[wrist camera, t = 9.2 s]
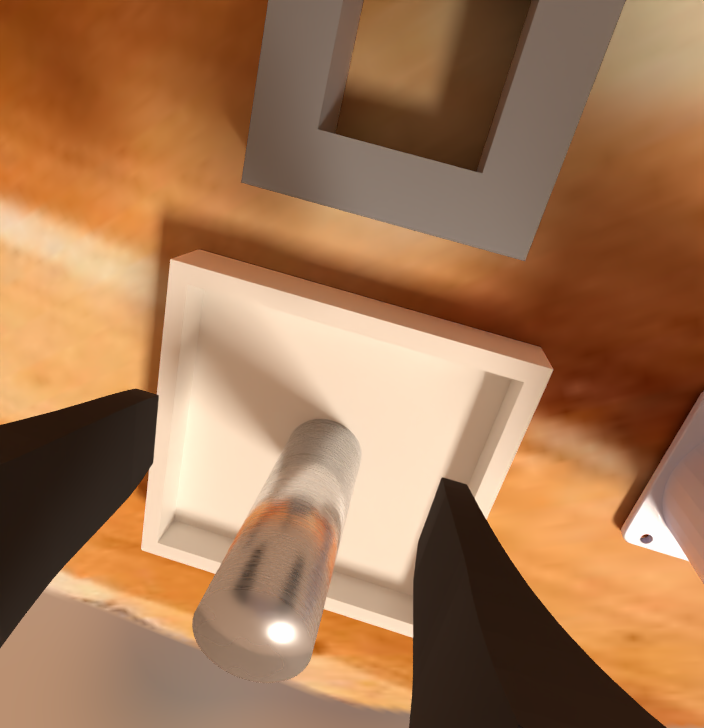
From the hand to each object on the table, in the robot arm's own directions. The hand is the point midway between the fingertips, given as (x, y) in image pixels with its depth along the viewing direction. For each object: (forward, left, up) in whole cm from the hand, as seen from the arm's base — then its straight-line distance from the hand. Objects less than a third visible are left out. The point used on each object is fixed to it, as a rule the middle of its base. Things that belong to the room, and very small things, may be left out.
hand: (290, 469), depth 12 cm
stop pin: (0, +6, -10) cm, 11 cm away
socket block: (0, -10, -10) cm, 15 cm away
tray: (0, +6, -10) cm, 12 cm away
